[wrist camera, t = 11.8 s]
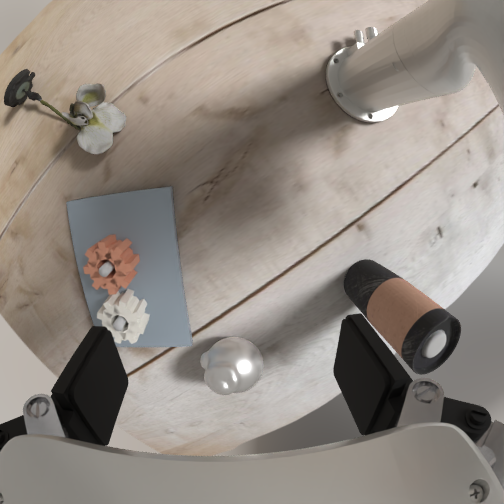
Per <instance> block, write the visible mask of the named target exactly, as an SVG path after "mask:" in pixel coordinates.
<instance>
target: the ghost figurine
mask: <svg viewBox="0 0 504 504" xmlns="http://www.w3.org/2000/svg"><path fill="white" fill-rule="evenodd" d="M200 363H201V366H202V367H203V368H204V369H205V373H204V380H205V382H206V384H207V386H208V387H209V388H210V389H211V390H212V391H214V392H215V393H217V394H220V395H229V394H232V393H241V392H245V391H247V390H249V389H251V388H252V387H254V386H255V385H256V384H257V383H258V381H259V380H260V378H261V376H262V373H263V369H264V362H263V357H262V355H261V353H260V351H259V349H258V348H257V347H256V346H255V345H254V344H253V343H252V342H250V341H248V340H246V339H244V338H240V337H228V338H224V339H222V340H220V341H218V342H217V343H215V344H214V345H213V346H212V347H211V348H210V350H208V351H206V352H204V353H203V354H202V356H201V359H200Z"/></svg>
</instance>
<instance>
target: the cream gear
mask: <svg viewBox="0 0 504 504" xmlns="http://www.w3.org/2000/svg"><path fill="white" fill-rule="evenodd" d="M133 294H134V291H133V290H130V289H127V291H126V292H125V293H124V292H123V293H121V294H120V293H119V291H118V292H117V293H116V294H113V295H109V297H108V298H107V299H106V300H105V302H104V303H103V305H102V307H101V308H100V309H99V311H98V312H97V318H98V319H100V320H102V325H103V326H105V327H106V328H107V329H108V330H110V331H111V333H112V336H113V337H115V339H114V342H116V343H119V344H121V342H122V340H124V341H126V340H129V342H130V343H131V344H133V343H135V342H137V340H138V337H139V335H140V334H143V333H144V330H145V328H146V325H147V323H148V321H149V317H150V314H147V313H145V308H146V306H147V302H146V301H145V299H142V300H140V301H139V299H138V298H137V297H135V296H133ZM118 316H122V317H124V318H125V319H126V323H125V325H124V327H123V329H122V330H121V331H116V330H115V329H114V328H113V324H114V322H115V321H116V319H117V318H118Z"/></svg>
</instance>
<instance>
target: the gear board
mask: <svg viewBox="0 0 504 504" xmlns="http://www.w3.org/2000/svg"><path fill="white" fill-rule="evenodd" d="M67 210H68V217H69V224H70V230H71V236H72V241H73V247H74V252H75V257H76V261H77V266H78V270H79V274H80V278H81V282H82V286H83V290H84V294H85V297H86V301H87V304H88V308H89V311H90V314H91V318H92V321H93V324H94V326H103V325H102V320H100V319H98V318H97V312H98V311H99V309H100V308H101V307H102V305H103V303H104V302H105V300H106V299H107V298H108V297H109V293H108V289H103V288H102V287H100V288H99V289H98V290H96V289H95V288H94V287H93V286H92V284H93V283H94V281H93V280H92V279H91V277H90V274H85V273H84V269H83V267H84V266H85V265H86V264H87V262H88V260H89V258H88V257H87V256H86V255H85V253H86V251H87V250H88V249H89V248H90V247H92V246H93V245H94V244H96V243H97V242H99V241H101V240H102V239H104V238H105V237H107V236H108V235H113V234H116V240H121V241H122V242H123V241H124V240H125V239H126V238H128V239H129V240H130V241H131V242H132V244H131V245H130V247H129V248H131V249H132V250H133V254H139V258H140V262H139V263H138V264H137V265H136V267H135V268H134V270H135V271H136V272H138V273H137V274H136V275H135V277H134V278H133V279H132V281H131V282H130V284H129V285H128V286H127V288H126V289H125V288H123V287H122V286H121V288H120V289H119V290H118V291H119V293H120V294H121V293H123V292H124V293H125V292H126V291H127V289H130V290H133V291H134V294H133V296H135V297H137V298H138V299H139V301H140V300H142V299H145V301H146V302H147V306H146V308H145V313H147V314H150V317H149V321H148V323H147V325H146V328H145V330H144V333H143V334H140V335H139V337H138V340H137V342H135V343H133V344H131V343H130V342H129V340H126V341H124V340H122V342H121V344H119V343H116V342H115V345H116V347H182V346H192V342H193V340H192V335H191V329H190V323H189V318H188V312H187V305H186V299H185V293H184V286H183V279H182V272H181V265H180V257H179V249H178V240H177V231H176V222H175V212H174V201H173V188H172V186H171V187H161V188H153V189H144V190H136V191H129V192H122V193H115V194H108V195H102V196H95V197H89V198H83V199H78V200H72V201H68V202H67ZM114 268H115V266H114V264H113V263H112V262H111V261H109V260H108V261H107V262H105V263H104V264H103V265H102V266H101V267H100V268H99V274H100V275H101V276H102V277H106V276H108V275H109V273H110V272H111V271H112V270H113V269H114ZM125 323H126V319H125V318H124V317H122V316H118V318H117V319H116V321H115V322H114V324H113V328H114V329H115V330H116V331H121V330H122V329H123V327H124V325H125ZM113 339H115V337H113Z"/></svg>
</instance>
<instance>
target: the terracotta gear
mask: <svg viewBox="0 0 504 504" xmlns="http://www.w3.org/2000/svg"><path fill="white" fill-rule="evenodd" d="M131 244H132V242H131V241H130V240H129V239H128V238H126V239H125V240H124V241H123V242H122V241H121V240H116V234H113V235H108V236H107V237H105V238H104V239H102V240H101V241H99V242H97V243H96V244H94V245H93V246H92V247H90V248H89V249H88V250H87V251H86V253H85V255H86V256H87V257H88V258H89V260H88V262H87V264H86V265H85V266H84V267H83V269H84V273H85V274H90V277H91V279H92V280H93V281H94V283H93V284H92V286H93V287H94V288H95V289H96V290H98V289H99V288H100V287H102V288H103V289H108V293H109V295H113V294H116V293H117V292H118V290H119V289H120V288H121V286H122V287H123V288H125V289H126V288H127V286H128V285H129V284H130V282H131V281H132V279H133V278H134V277H135V275H136V274H137V273H138V272H136V271H135V270H134V268H135V267H136V265H137V264H138V263H139V262H140V258H139V254H133V250H132V249H131V248H129V247H130V245H131ZM108 260H109V261H111V262H112V263H113V264H114V266H115V268H114V269H113V270H112V271H111V272H110V273H109V275H108V276H106V277H102V276H101V275H100V274H99V268H100V267H101V266H102V265H103V264H104V263H105V262H107V261H108Z"/></svg>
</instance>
